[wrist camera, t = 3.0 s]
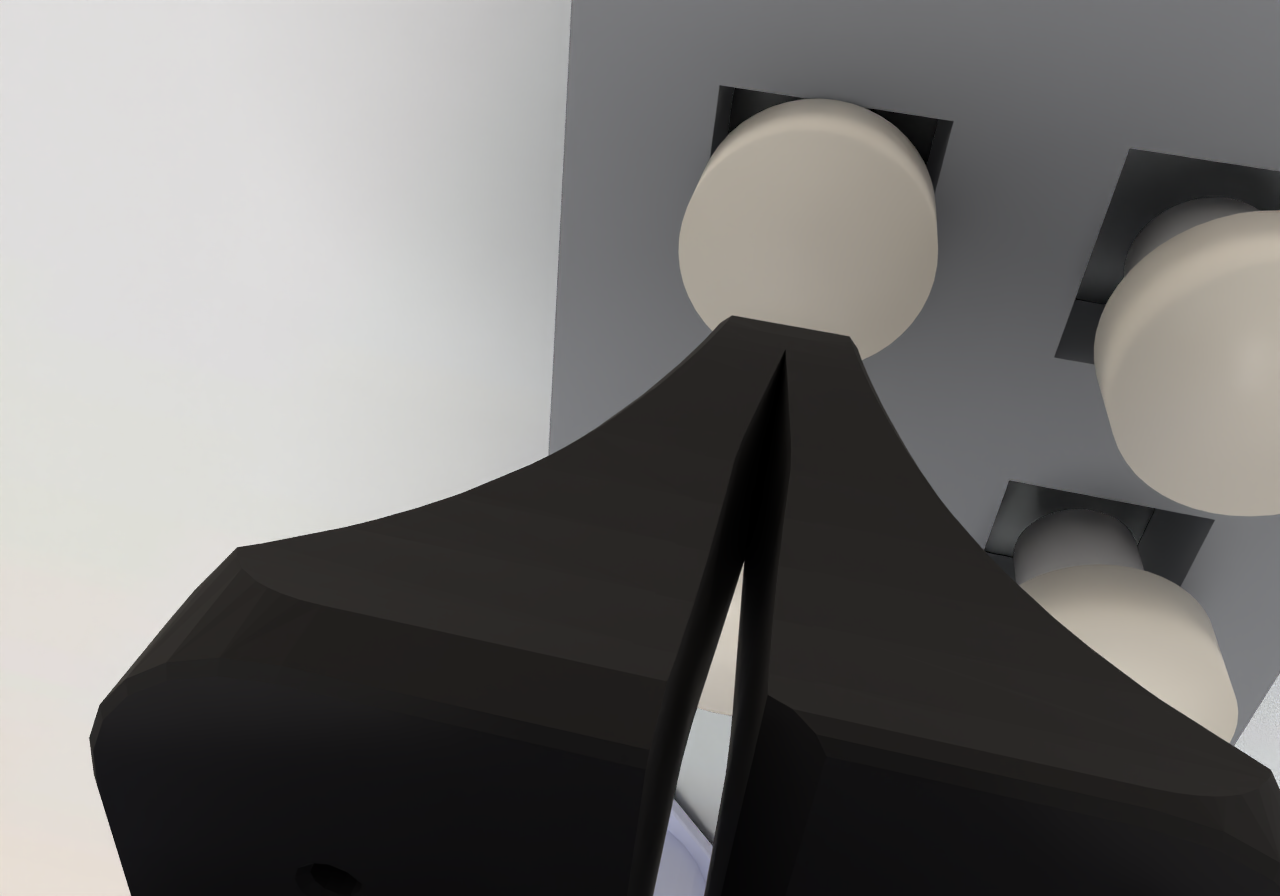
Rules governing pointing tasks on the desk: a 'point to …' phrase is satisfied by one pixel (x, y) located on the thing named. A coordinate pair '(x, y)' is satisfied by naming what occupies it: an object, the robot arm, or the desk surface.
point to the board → (966, 229)
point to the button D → (1198, 357)
